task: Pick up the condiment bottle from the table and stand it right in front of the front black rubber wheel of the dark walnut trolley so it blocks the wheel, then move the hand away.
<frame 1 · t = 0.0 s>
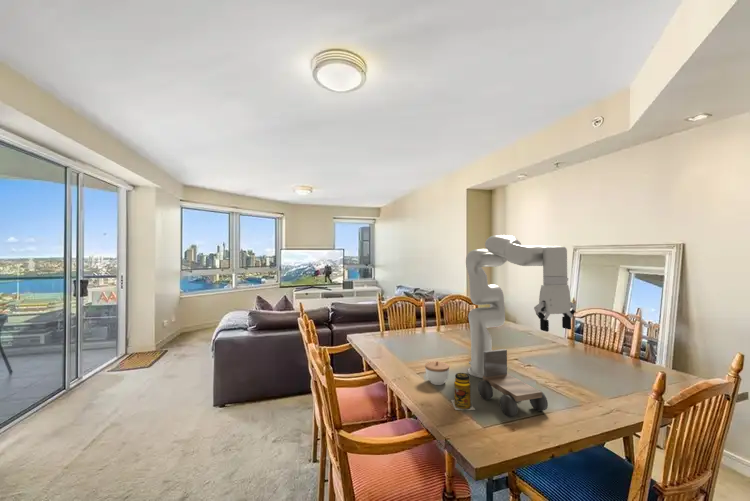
hand: (555, 329, 117), 31 cm above the table, tool pointing down, fingers open, 9 cm apart
lidded jar: (437, 382, 150), on the table
condiment: (462, 405, 128), on the table
trolley: (510, 404, 128), on the table
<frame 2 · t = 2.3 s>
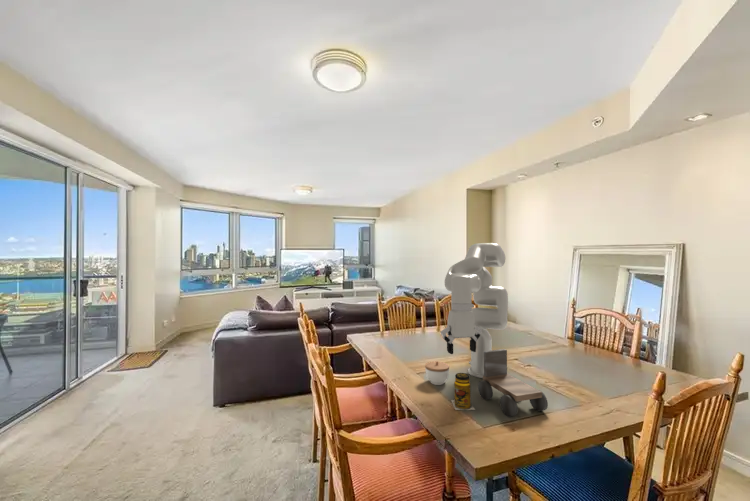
hand: (461, 352, 128), 20 cm above the table, tool pointing down, fingers open, 9 cm apart
nothing on the table moved.
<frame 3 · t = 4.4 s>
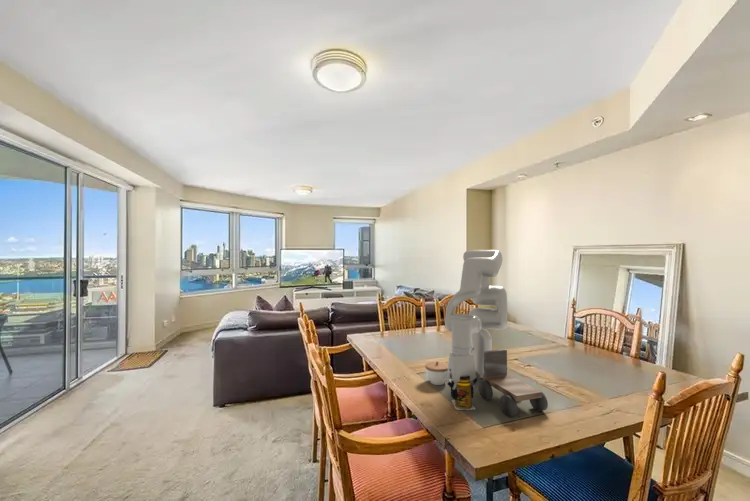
hand: (462, 397, 128), 3 cm above the table, tool pointing down, fingers closed on condiment, 6 cm apart
condiment: (463, 405, 128), on the table, touching gripper
everything else where it was.
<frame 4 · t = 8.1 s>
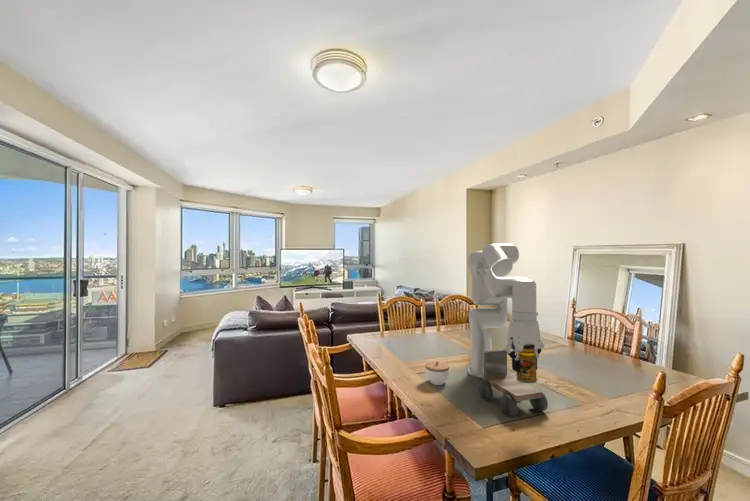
hand: (524, 369, 112), 19 cm above the table, tool pointing down, fingers closed on condiment, 6 cm apart
condiment: (525, 379, 112), point 16 cm above the table, touching gripper
everything else where it was.
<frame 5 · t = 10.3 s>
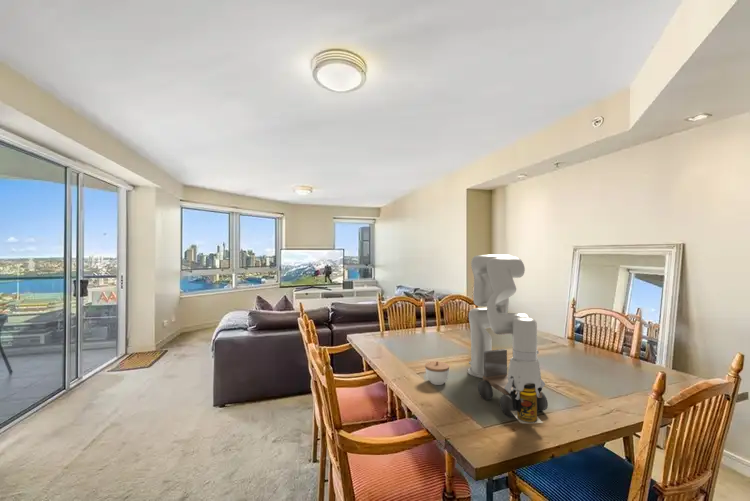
hand: (525, 408, 112), 6 cm above the table, tool pointing down, fingers closed on condiment, 6 cm apart
condiment: (526, 417, 112), point 3 cm above the table, touching gripper
everything else where it was.
when the fingers open (4 cm above the table, at t = 11.8 s): condiment stays where it is, on the table.
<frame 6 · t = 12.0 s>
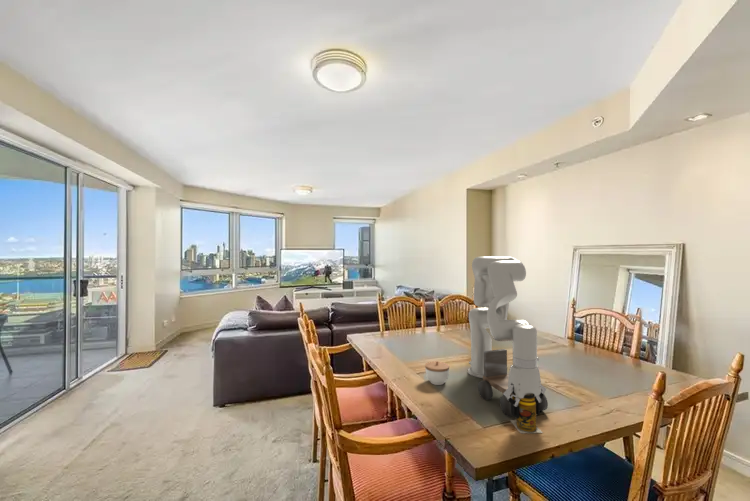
hand: (525, 414, 112), 4 cm above the table, tool pointing down, fingers open, 7 cm apart
condiment: (525, 427, 112), on the table
everything else where it was.
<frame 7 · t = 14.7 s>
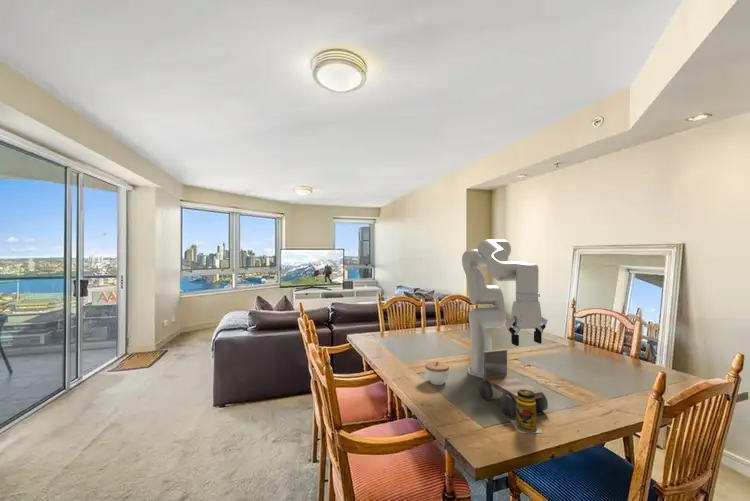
hand: (526, 343, 122), 25 cm above the table, tool pointing down, fingers open, 9 cm apart
nothing on the table moved.
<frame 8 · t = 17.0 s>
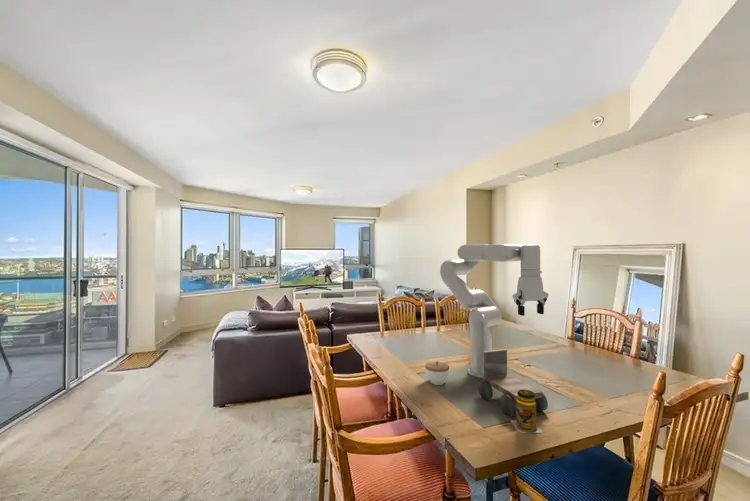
hand: (530, 314, 140), 32 cm above the table, tool pointing down, fingers open, 9 cm apart
nothing on the table moved.
at the end: condiment 0.9 cm from the target spot on the table beside the trolley, on the table; condiment tilted 0°; the gripper is holding nothing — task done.
